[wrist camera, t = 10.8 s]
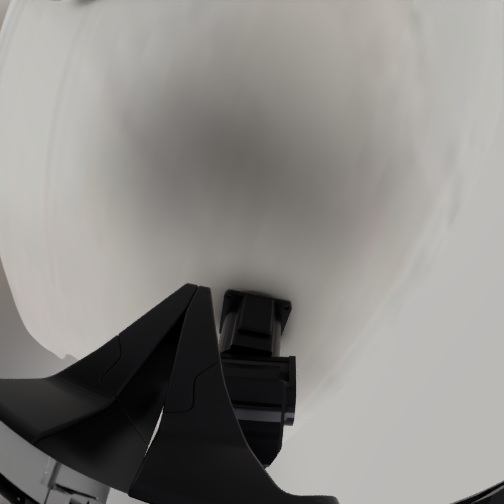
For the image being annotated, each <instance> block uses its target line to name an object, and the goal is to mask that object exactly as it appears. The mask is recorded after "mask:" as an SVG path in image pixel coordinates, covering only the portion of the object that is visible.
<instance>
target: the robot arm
mask: <svg viewBox="0 0 504 504" xmlns="http://www.w3.org/2000/svg"><path fill="white" fill-rule="evenodd" d="M228 295H231V296H228ZM285 306H287V307H285ZM291 309H292V305H291V303H290V302H286V301H281V300H276V299H271V298H266V297H260V296H255V295H250V294H246V293H241V292H236V291H231V290H228V291H226V292H225V295H224V301H223V309H222V316H221V323H220V330H219V333H220V334H221V336H220V340H219V344H218V339H217V332H216V325H215V318H214V311H213V304H212V296H211V289H210V288H209V287H204V286H199V287H198V286H197V285H194V284H190V283H187V284H185V285H184V286H182V287H181V288H180V289H178V290H177V291H175V292H174V293H173V294H171V295H170V296H169V297H167V298H166V299H165V300H163V301H162V302H161V303H159V304H158V305H157V306H155V307H154V308H153V309H151V310H150V311H149V312H147V313H146V314H145V315H143V316H142V317H141V318H139V319H138V320H137V321H135V322H134V323H133V324H131V325H130V326H129V327H127V328H126V329H125V330H123V331H122V332H121V333H119V336H118V335H116V336H115V337H114V338H112V339H111V340H110V341H108V342H107V343H106V344H104V345H103V346H101V347H100V348H99V349H97V350H96V351H94V352H92V353H91V354H89V355H88V356H86V357H84V358H83V359H81V360H79V361H78V362H76V363H74V364H73V365H71V366H69V367H67V368H66V369H64V370H63V371H61V372H59V373H57V374H55V375H53V376H50V377H46V378H41V379H40V378H39V379H0V504H106V501H107V498H108V495H109V491H110V488H111V487H112V488H114V489H117V490H119V491H122V492H124V493H127V494H128V496H129V497H132V498H135V499H138V500H141V501H143V502H146V503H149V504H339V502H338V500H337V498H336V497H334V496H322V495H321V496H320V495H319V496H318V495H315V496H297V495H292V494H289V493H286V492H285V491H283V490H281V489H280V488H279V487H278V486H277V485H276V484H275V482H274V481H273V480H272V478H271V477H270V476H269V474H268V473H267V472H266V470H265V468H266V467H269V465H271V463H272V462H273V460H274V459H275V458H276V456H277V454H278V453H279V452H280V450H281V447H282V437H283V427H284V425H290V426H293V422H294V415H295V404H296V357H295V356H289V357H280V340H281V335H282V332H283V330H284V327H285V325H286V322H287V320H288V317H289V314H290V312H291ZM163 406H164V407H163ZM162 409H163V414H162V417H161V421H160V425H159V428H158V431H157V433H156V435H155V437H154V439H153V441H152V443H151V445H150V447H149V449H148V445H149V443H150V440H151V438H152V435H153V432H154V430H155V427H156V424H157V422H158V419H159V417H160V414H161V411H162ZM147 449H148V451H147ZM146 451H147V453H146ZM145 454H146V455H145ZM451 504H504V481H502V482H500V483H498V484H496V485H494V486H492V487H490V488H488V489H486V490H483V491H481V492H479V493H477V494H474V495H472V496H469V497H467V498H465V499H462V500H459V501H457V502H454V503H451Z"/></svg>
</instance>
